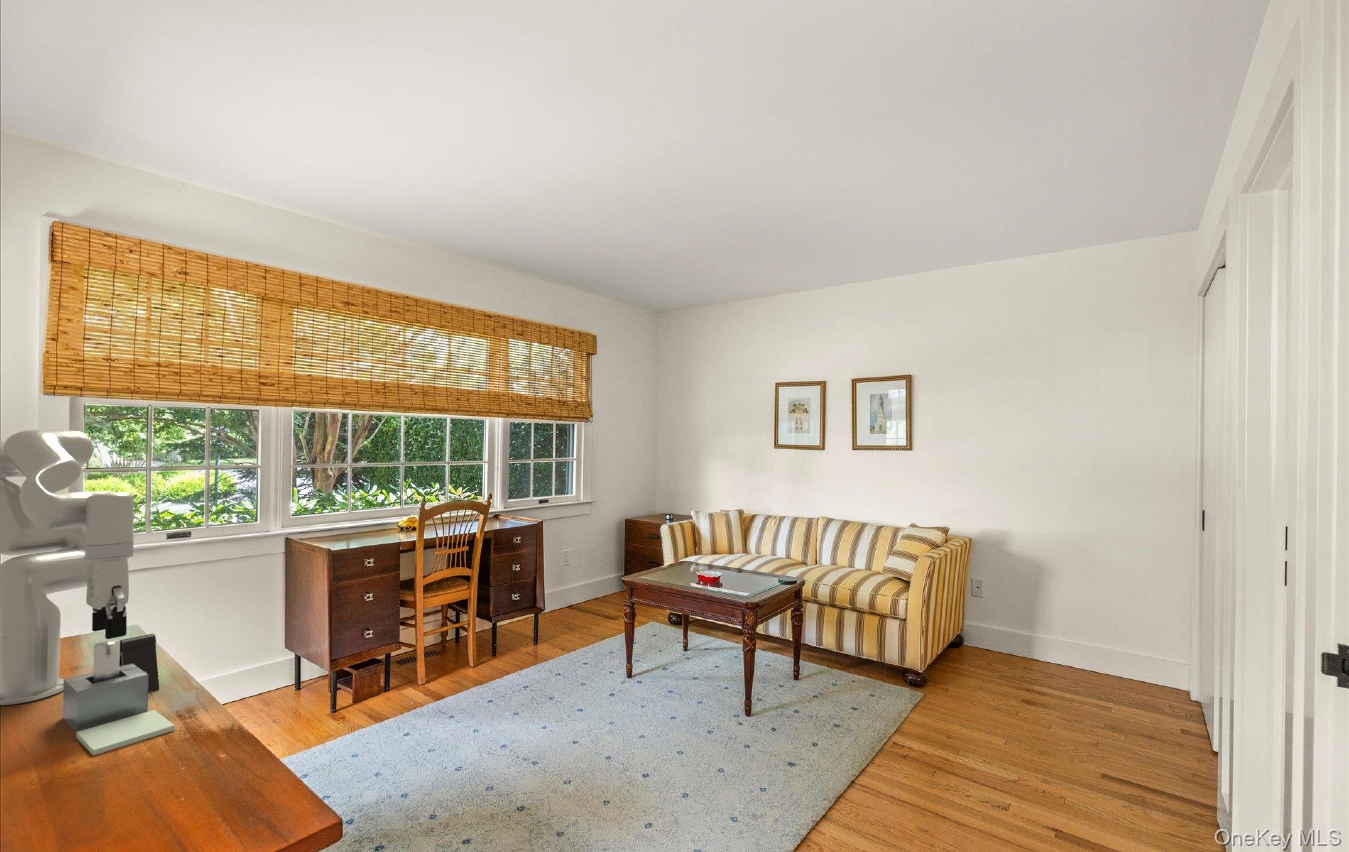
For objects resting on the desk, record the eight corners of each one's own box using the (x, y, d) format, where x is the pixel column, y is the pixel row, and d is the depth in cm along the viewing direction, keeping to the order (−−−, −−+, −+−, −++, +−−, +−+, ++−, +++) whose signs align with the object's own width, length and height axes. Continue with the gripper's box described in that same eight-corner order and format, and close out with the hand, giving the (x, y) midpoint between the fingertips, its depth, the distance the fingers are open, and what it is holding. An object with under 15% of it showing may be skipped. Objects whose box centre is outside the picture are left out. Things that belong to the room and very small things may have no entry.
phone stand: (114, 688, 143) (115, 636, 143) (147, 680, 147) (148, 630, 148) (125, 698, 137) (126, 644, 138) (159, 689, 142) (160, 637, 142)
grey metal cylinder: (90, 701, 129) (91, 643, 129) (115, 695, 132) (116, 638, 132) (95, 706, 126) (97, 647, 126) (121, 699, 130) (122, 642, 130)
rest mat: (76, 737, 119) (76, 731, 119) (154, 714, 129) (154, 709, 129) (93, 755, 113) (93, 750, 113) (174, 730, 122) (174, 725, 122)
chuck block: (62, 717, 128) (63, 679, 128) (131, 699, 137) (132, 663, 137) (76, 732, 121) (77, 691, 121) (147, 712, 130) (148, 674, 130)
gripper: (74, 550, 132) (73, 631, 131) (97, 558, 122) (96, 645, 121) (120, 545, 138) (120, 622, 137) (145, 552, 128) (145, 635, 127)
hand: (109, 633), depth 129 cm, fingers open, 9 cm apart
